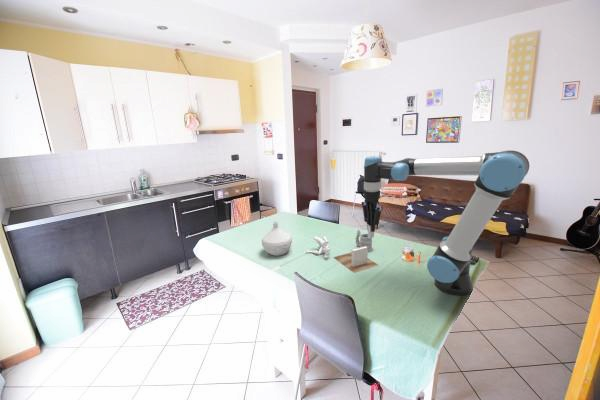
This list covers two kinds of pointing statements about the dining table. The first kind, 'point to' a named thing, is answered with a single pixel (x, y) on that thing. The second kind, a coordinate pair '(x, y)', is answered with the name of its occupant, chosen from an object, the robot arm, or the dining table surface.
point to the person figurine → (323, 245)
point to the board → (347, 262)
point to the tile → (359, 256)
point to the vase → (276, 241)
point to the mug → (364, 241)
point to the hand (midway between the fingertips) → (370, 237)
